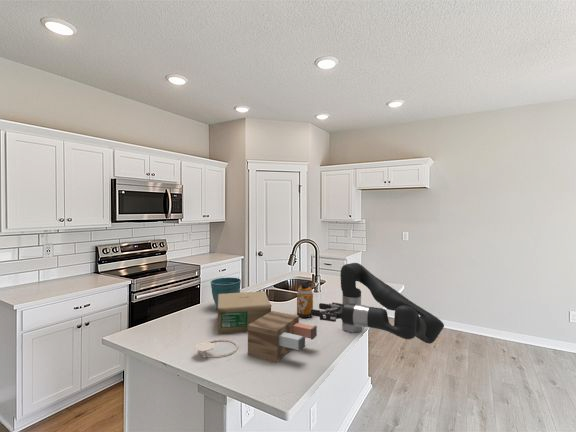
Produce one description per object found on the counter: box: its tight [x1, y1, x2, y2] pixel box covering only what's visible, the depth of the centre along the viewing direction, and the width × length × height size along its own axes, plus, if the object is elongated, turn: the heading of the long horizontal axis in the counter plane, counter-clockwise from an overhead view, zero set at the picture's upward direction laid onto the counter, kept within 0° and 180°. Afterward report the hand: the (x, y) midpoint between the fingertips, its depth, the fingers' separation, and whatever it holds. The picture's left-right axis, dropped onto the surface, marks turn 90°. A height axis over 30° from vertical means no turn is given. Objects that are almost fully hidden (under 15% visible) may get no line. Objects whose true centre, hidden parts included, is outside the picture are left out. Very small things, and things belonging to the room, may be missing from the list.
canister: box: [296, 279, 314, 319], centre depth 179 cm, size 9×11×20 cm
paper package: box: [217, 290, 272, 335], centre depth 167 cm, size 27×26×14 cm
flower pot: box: [210, 276, 242, 311], centre depth 191 cm, size 18×18×17 cm
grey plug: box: [279, 332, 306, 352], centre depth 128 cm, size 4×16×4 cm, turn 62°
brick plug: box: [292, 322, 318, 340], centre depth 139 cm, size 4×16×4 cm, turn 62°
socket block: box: [247, 310, 300, 363], centre depth 138 cm, size 20×14×12 cm
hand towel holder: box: [194, 338, 239, 359], centre depth 136 cm, size 17×4×21 cm
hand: (315, 308), depth 122 cm, fingers open, 8 cm apart
